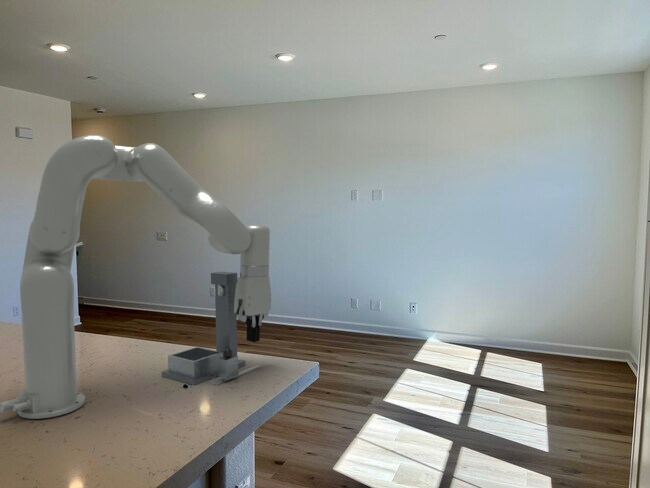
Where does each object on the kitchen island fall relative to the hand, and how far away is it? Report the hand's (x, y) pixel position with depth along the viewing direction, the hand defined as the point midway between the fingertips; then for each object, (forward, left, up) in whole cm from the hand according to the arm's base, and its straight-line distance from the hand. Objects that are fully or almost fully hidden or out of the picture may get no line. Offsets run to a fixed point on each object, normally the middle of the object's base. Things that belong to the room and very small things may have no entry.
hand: (253, 340), depth 126 cm
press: (-8, +10, -8) cm, 15 cm away
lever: (-10, 0, -8) cm, 12 cm away
